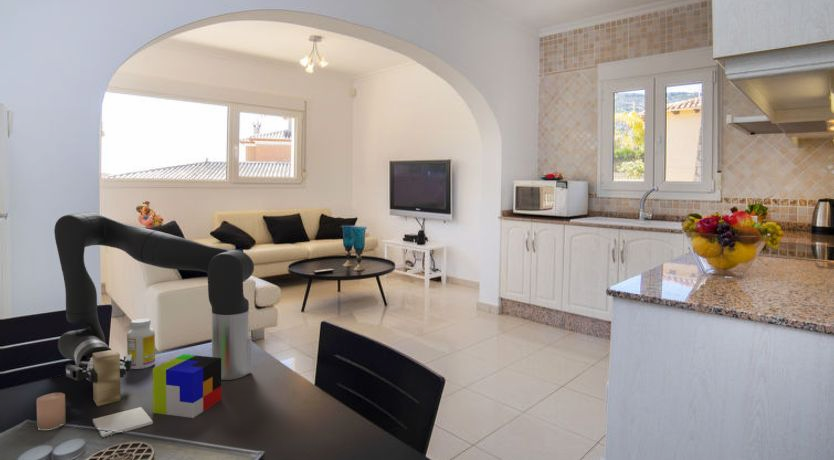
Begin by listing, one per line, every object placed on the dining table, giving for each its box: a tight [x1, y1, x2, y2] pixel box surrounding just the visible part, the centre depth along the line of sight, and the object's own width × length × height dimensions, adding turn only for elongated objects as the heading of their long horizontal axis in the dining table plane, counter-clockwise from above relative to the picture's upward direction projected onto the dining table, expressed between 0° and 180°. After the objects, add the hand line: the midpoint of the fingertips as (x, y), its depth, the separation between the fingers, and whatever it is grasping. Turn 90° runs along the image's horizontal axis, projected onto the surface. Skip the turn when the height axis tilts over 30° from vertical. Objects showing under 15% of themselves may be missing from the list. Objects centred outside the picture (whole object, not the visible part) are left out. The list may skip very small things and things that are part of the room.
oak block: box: [92, 349, 121, 407], centre depth 110 cm, size 4×4×11 cm
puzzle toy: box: [152, 353, 222, 419], centre depth 108 cm, size 10×10×10 cm
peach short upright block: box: [36, 392, 67, 429], centre depth 97 cm, size 5×5×6 cm
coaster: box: [92, 406, 154, 436], centre depth 99 cm, size 9×9×1 cm
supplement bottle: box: [126, 318, 156, 370], centre depth 132 cm, size 7×7×13 cm
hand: (109, 375), depth 108 cm, fingers closed on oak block, 4 cm apart
